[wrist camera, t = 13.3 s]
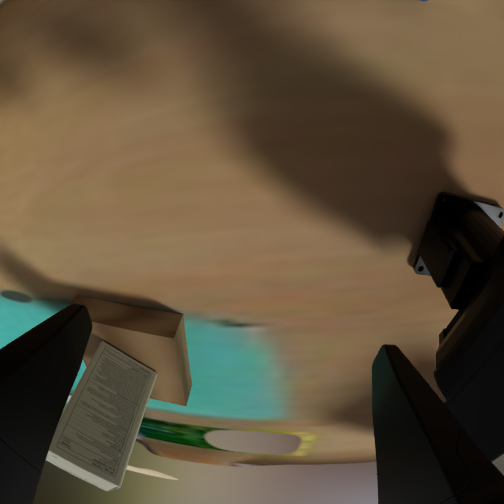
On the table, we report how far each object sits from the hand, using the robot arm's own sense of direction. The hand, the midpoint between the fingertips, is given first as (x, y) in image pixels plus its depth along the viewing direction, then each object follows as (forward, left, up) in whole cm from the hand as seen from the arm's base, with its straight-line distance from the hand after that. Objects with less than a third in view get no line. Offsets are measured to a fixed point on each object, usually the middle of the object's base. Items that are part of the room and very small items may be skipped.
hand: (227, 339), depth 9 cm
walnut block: (+11, +18, -14) cm, 25 cm away
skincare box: (+11, +18, -10) cm, 24 cm away
